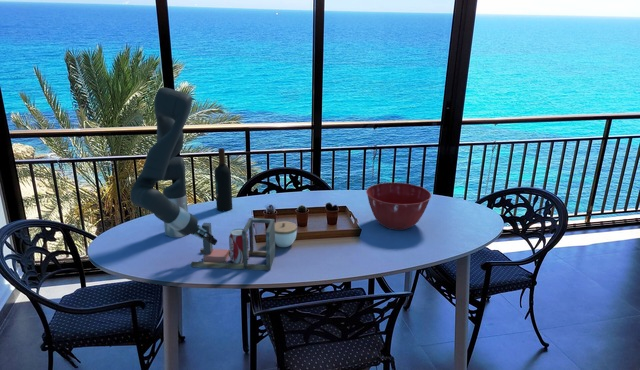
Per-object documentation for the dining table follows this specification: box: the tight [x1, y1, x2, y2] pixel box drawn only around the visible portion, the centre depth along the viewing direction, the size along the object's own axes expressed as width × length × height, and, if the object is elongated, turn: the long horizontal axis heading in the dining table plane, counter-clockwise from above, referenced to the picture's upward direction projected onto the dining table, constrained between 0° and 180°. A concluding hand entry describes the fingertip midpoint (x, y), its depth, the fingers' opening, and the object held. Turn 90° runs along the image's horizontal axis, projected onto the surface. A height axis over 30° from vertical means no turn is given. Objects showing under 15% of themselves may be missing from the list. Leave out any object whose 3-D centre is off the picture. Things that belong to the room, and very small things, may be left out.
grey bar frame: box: [190, 217, 276, 271], centre depth 166 cm, size 29×12×15 cm, turn 87°
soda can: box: [228, 228, 250, 264], centre depth 166 cm, size 7×7×12 cm
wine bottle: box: [214, 147, 233, 212], centre depth 213 cm, size 8×8×30 cm
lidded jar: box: [275, 221, 298, 248], centre depth 181 cm, size 11×11×9 cm
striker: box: [201, 222, 230, 263], centre depth 166 cm, size 8×6×14 cm
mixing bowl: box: [366, 182, 432, 231], centre depth 201 cm, size 28×28×15 cm
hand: (212, 241), depth 168 cm, fingers closed on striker, 3 cm apart
